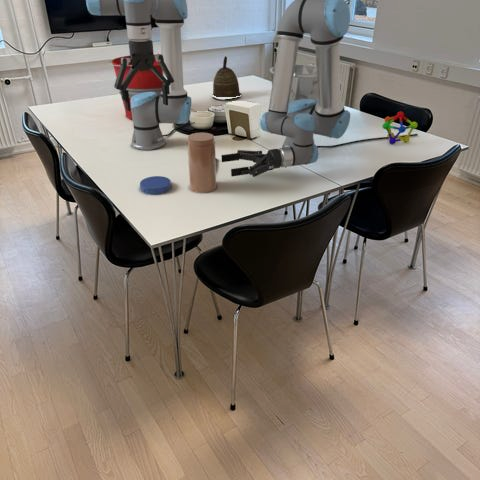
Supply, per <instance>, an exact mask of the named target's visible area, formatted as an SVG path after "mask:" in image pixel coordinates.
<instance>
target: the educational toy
mask: <svg viewBox="0 0 480 480" xmlns="http://www.w3.org/2000/svg"><path fill="white" fill-rule="evenodd" d="M397 119H399V124H400V125H399V127H398V126H393V125H391V124H392V123H394V122H395V121H396V120H397ZM403 120H404V121H405V122H407V123H408V124H409V125H407V126H404V123H403ZM417 127H418V122H417V121H411V120H410V119H409V118H408V117H406V116H405V113H404V112H403V111H401V110H400V111H398V112H397V114H396V115H394V116H391V117H390V116H386V117H385V118H384V122H383V123H382V129H383V130H386V132H387V137H388V138H389V139H388V142H389V145H395V144H396V143H397V142H402V141H403V142H404V143H409V142H410V140H411V138H410V137H411V136H410V135H411V134H412V132H413V131H414V130H415V129H417ZM392 129H393V130H397V131H398V132H396V134H395V133H394V132H392ZM408 129H409V131H408V133H407V134H406V135H407V136H404V137H400V136H401V134H403V133H405V132H406V130H408ZM409 136H410V137H409ZM393 137H394V138H393Z"/></svg>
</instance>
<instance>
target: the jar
mask: <svg viewBox="0 0 480 480" xmlns="http://www.w3.org/2000/svg"><path fill="white" fill-rule="evenodd" d="M186 144H187V160H188V161H187V162H188V163H187V164H188V176H189V177H188V178H189V189H190V191H192V192H195V193H200V194H205V193H211V192H214V191H215V190H216V189H217V161H216V158H217V157H216V141H215V137H214V134H212V133H208V132H195V133H191V134H189V135H188V137H187V143H186Z"/></svg>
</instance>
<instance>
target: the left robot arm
mask: <svg viewBox="0 0 480 480" xmlns="http://www.w3.org/2000/svg"><path fill="white" fill-rule="evenodd" d="M85 3H86V8H87V11H88V13H89V14H90V15H92V16H98V17H99V16H122V17H123V16H125V24H126V33H127V38H128V39H129V40H128V50H129V55H130V58H123V56H120V57H121V65H120V69H119V72H118V75H117V77H116V78H115V82H114V85H113V88H114V89H116V90H118V91H121V95H120V96H121V100H122V102H123V101H125V107H126V110H128V111H132V118H133V120H132V125H133V132H132V135H131V142H130V143H131V147H132V148H134V149H135V150H141V151H151V150H153V151H154V150H157V149H161V148H163V147H164V146H165V144H166V140H165V137H169V136H171V135H172V133H173V132H174V131H176V130H178V129H181V128H182V127H183V128H184V127H185V126H187V125H189V124H191V123H190V122H191V121H190V118H191V113H192V97H191V96H189V95H188V91H187V90H186V89H185V88H184V87H185V86H184V70H183V69H184V68H183V50H182V29H181V28H182V27H183V26H184V24H185V20H186V19H188V16H189V14H188V3H187V0H85ZM151 19H153V20H155V21H154V22H155V25H156V26H157V27H158V28H159V36H160V37H159V39H160V53H161V54H160V53H156V54H154V43H153V42H154V41H153V40H152V38H153V32H152V22H151ZM154 55H155V56H154ZM155 59H156V61H157V62H158V63H159V65H160V66H161V68H162V70H163V75H162V74H161V73H160V72H159V71H158V70H157V68H156V67H155V66H154V65H153V63H154V61H155ZM129 62H130V63H131V64H132V66H131V68H130V71H129V72H128V74H127V76H126V77H125V79H124V81H123V78H124V75H125V71H126V68H127V65H128V64H129ZM150 69H151V70H152V71H153V72H154V73H155V74H156V76H157V77H158V78H159V79H160V80H161V81H162V82H163V83H164V84H162V92H161V96H157V94H156V93H155V92H144V93H139V94H136V95H134V96H133V97H132V98H131V108H130V100H129V92H128V90H126V89H127V87H128V85H129V84H130V82H131V80H132V79H133V77H134V75H135V74H136V73H137V72H138V71H140V72H141V71H144V70H145V71H149V70H150ZM122 81H123V82H122ZM160 124H174V125H175V124H177V125H179V124H182V125H179V126H177V127H175V128H173V129H172V130H171V131H170V132H168V133H167V134H163V132H162V130H161V127H160Z"/></svg>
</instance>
